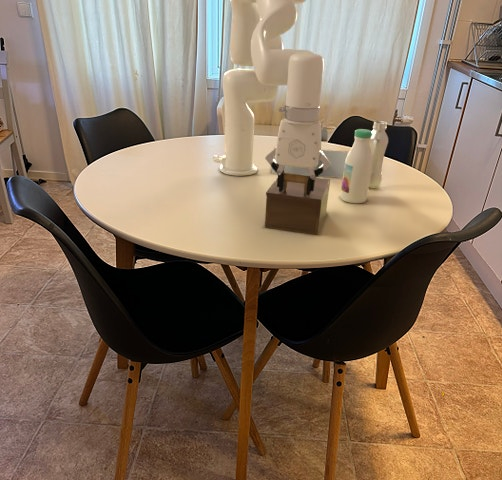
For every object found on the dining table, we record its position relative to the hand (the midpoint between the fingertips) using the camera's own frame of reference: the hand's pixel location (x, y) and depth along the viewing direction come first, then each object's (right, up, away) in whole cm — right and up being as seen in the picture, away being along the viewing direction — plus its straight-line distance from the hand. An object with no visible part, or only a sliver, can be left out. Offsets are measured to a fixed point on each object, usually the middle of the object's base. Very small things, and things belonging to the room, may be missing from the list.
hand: (295, 191), depth 116 cm
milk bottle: (+20, +3, +26) cm, 33 cm away
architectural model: (+12, +23, +59) cm, 65 cm away
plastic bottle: (+27, +9, +37) cm, 47 cm away
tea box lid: (+2, +2, +6) cm, 6 cm away
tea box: (+1, -6, +11) cm, 12 cm away
